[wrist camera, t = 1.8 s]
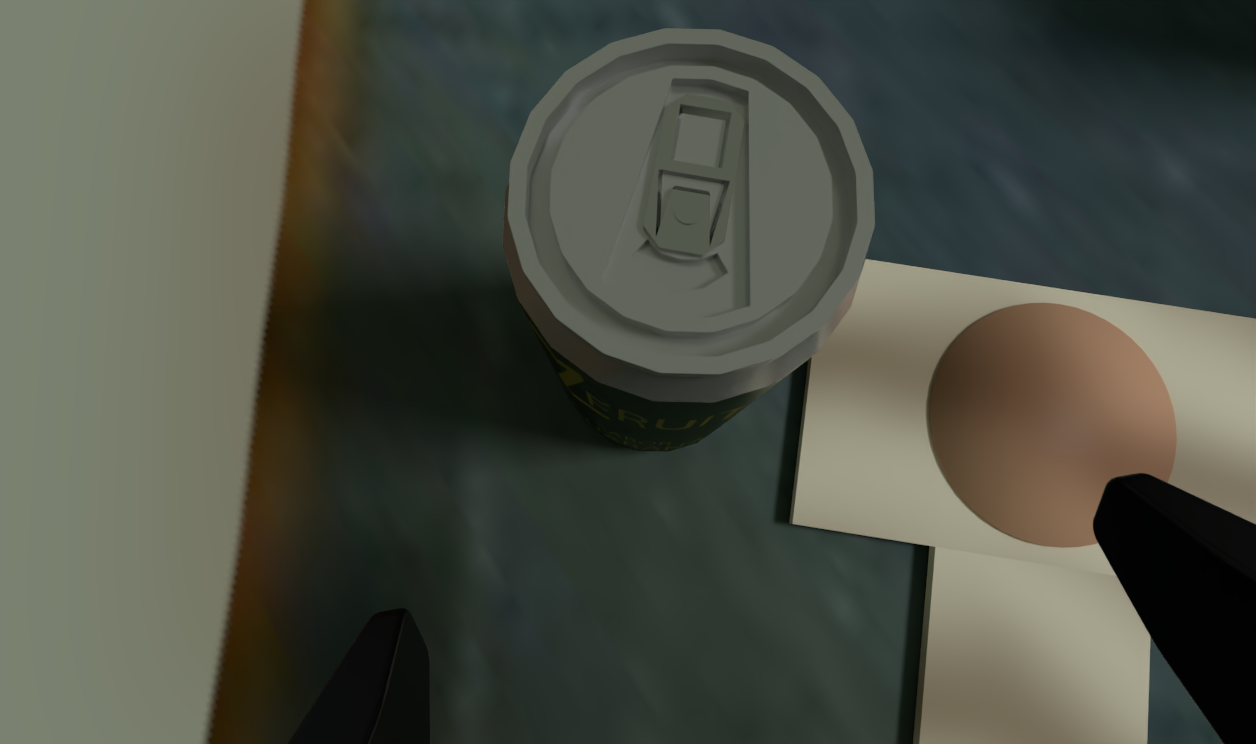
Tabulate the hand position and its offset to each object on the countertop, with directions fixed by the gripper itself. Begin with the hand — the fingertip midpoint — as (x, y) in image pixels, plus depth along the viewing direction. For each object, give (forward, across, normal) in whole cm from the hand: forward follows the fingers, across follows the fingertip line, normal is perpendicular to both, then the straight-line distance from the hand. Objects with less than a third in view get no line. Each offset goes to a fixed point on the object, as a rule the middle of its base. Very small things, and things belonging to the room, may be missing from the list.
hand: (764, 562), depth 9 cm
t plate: (+6, -10, +10) cm, 15 cm away
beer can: (+12, 0, +5) cm, 13 cm away
